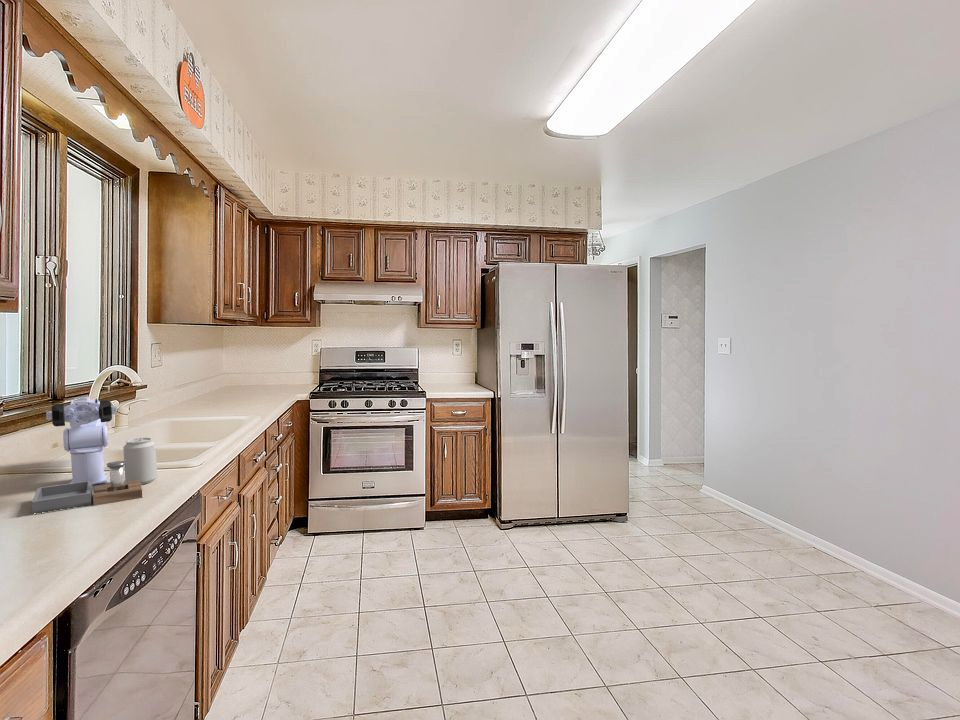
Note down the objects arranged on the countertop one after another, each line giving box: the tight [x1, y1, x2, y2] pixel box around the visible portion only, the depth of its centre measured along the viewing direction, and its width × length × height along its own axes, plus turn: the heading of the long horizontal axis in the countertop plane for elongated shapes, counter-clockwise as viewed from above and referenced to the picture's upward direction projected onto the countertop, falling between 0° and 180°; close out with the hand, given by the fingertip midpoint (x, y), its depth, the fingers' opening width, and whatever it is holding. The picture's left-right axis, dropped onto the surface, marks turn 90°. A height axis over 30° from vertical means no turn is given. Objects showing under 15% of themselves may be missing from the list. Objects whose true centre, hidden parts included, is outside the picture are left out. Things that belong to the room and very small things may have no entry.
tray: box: [31, 480, 94, 515], centre depth 132 cm, size 13×11×3 cm
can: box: [122, 437, 158, 485], centre depth 149 cm, size 8×8×12 cm
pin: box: [106, 460, 126, 492], centre depth 137 cm, size 4×4×9 cm
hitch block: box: [92, 480, 143, 506], centre depth 137 cm, size 10×10×2 cm
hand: (81, 414), depth 132 cm, fingers open, 7 cm apart
